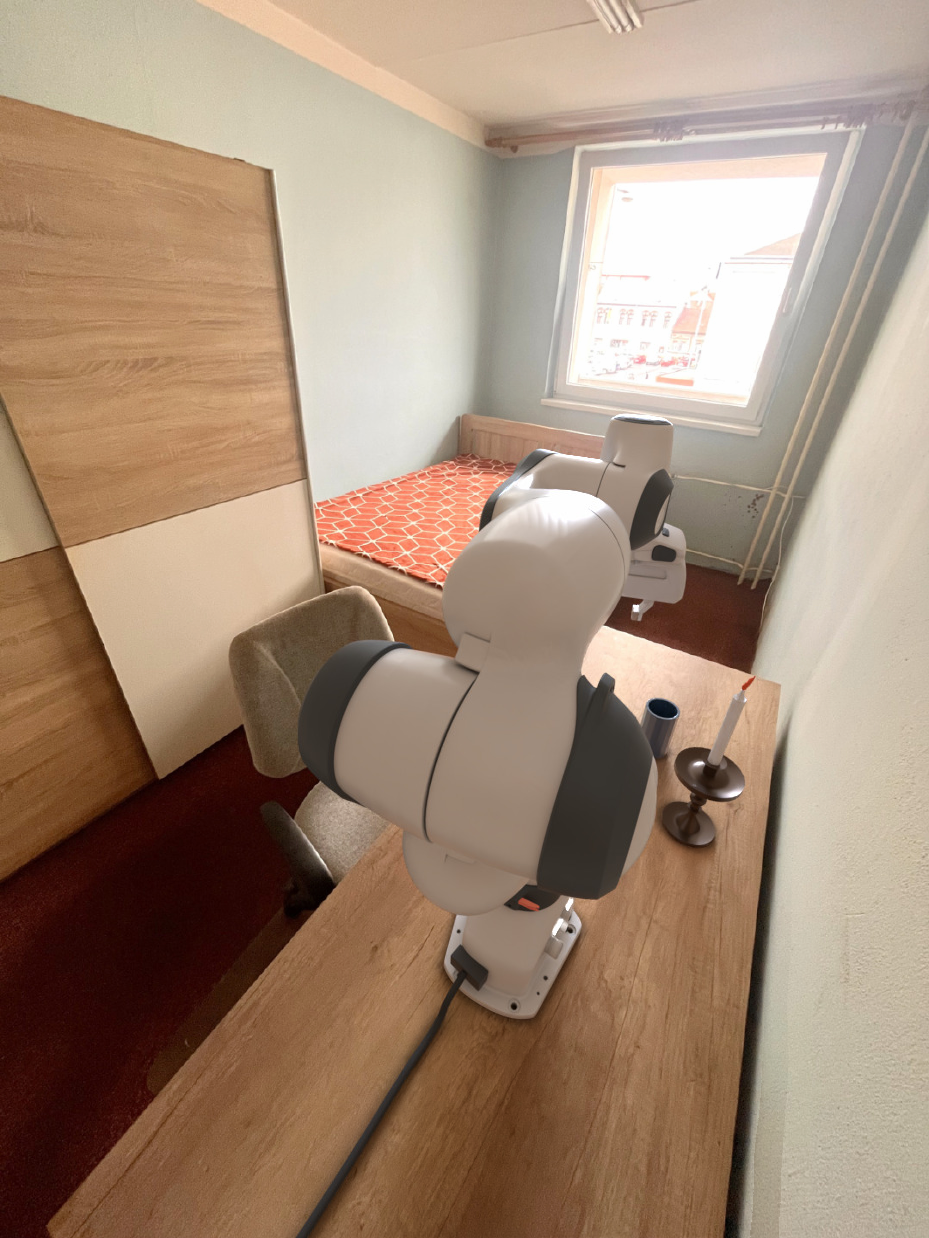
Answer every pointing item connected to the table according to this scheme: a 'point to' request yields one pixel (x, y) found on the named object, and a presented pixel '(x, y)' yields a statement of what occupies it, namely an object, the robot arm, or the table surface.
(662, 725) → the cup
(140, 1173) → the table surface
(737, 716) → the candlestick
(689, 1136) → the table surface
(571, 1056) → the table surface
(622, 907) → the table surface
